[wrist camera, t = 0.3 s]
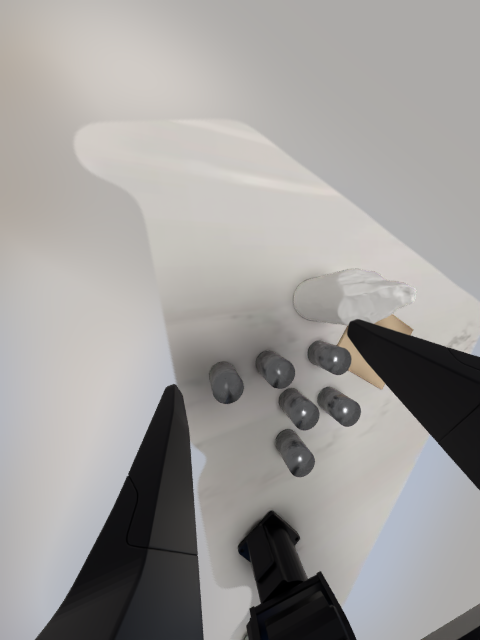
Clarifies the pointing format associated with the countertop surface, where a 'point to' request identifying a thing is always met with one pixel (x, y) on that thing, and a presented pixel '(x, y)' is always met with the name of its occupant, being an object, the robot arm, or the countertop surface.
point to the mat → (358, 362)
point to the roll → (351, 297)
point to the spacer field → (294, 397)
